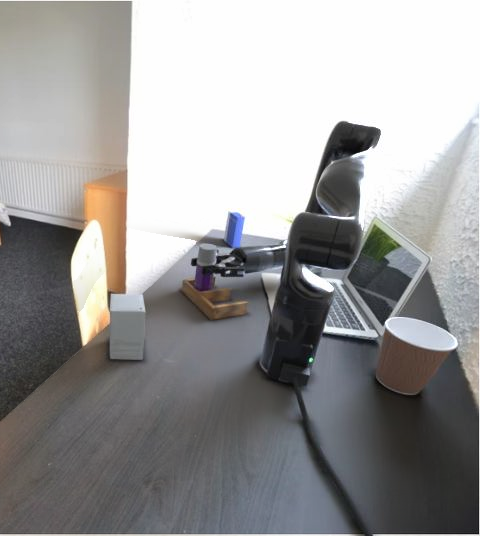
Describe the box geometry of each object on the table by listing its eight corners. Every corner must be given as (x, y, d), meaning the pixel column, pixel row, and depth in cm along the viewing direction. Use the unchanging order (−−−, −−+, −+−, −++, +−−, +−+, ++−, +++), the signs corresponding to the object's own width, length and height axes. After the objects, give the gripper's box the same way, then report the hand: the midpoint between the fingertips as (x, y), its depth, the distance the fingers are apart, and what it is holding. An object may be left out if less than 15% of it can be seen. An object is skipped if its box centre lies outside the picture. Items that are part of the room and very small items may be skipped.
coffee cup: (446, 402, 69) (475, 349, 64) (389, 402, 69) (413, 350, 64) (403, 364, 78) (425, 316, 73) (353, 365, 78) (372, 316, 73)
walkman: (239, 247, 136) (245, 216, 131) (232, 247, 136) (237, 216, 131) (230, 239, 143) (235, 209, 138) (223, 240, 143) (228, 209, 138)
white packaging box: (141, 340, 87) (144, 293, 82) (142, 361, 81) (146, 311, 75) (109, 339, 88) (110, 292, 83) (108, 359, 82) (109, 310, 76)
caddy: (211, 320, 95) (213, 308, 93) (181, 290, 109) (182, 279, 107) (246, 314, 97) (248, 302, 95) (212, 286, 111) (213, 275, 109)
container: (211, 300, 103) (218, 250, 97) (193, 299, 104) (199, 249, 98) (209, 292, 107) (216, 243, 101) (192, 290, 108) (198, 242, 102)
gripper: (238, 237, 109) (185, 244, 106) (272, 257, 96) (212, 264, 93) (234, 261, 112) (182, 268, 109) (266, 282, 100) (208, 291, 96)
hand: (196, 266), depth 101 cm, fingers closed on container, 4 cm apart
